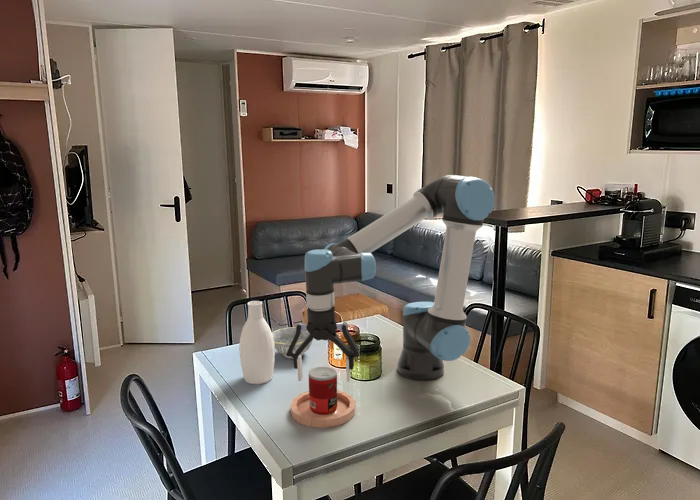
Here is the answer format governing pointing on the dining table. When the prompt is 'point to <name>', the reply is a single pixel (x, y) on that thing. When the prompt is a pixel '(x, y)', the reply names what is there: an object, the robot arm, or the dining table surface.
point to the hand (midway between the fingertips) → (324, 379)
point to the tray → (311, 419)
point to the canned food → (323, 390)
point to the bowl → (289, 340)
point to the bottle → (256, 347)
